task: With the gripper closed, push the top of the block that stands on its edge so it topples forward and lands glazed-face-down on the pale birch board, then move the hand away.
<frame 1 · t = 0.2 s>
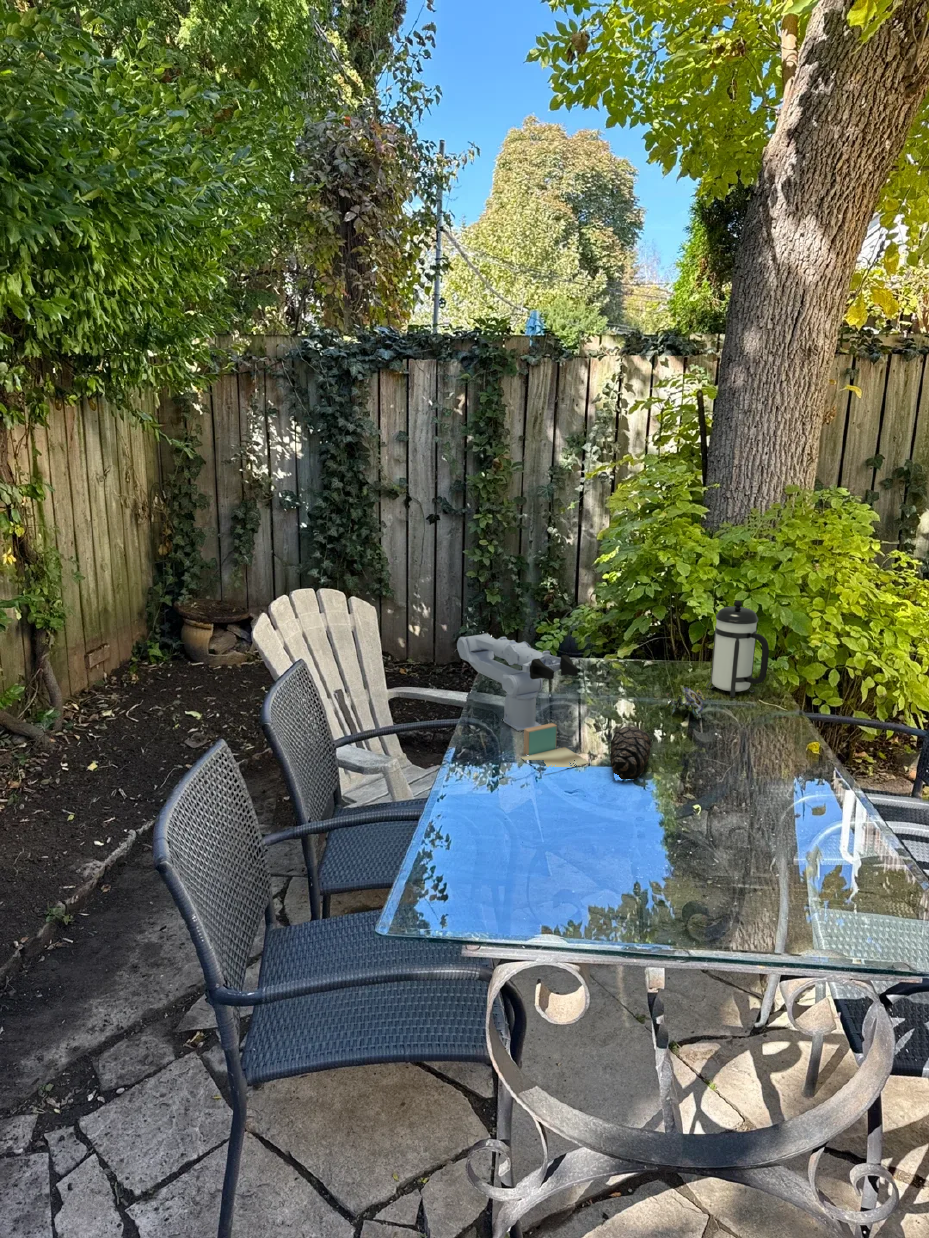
hand: (564, 673, 207), 21 cm above the table, tool horizontal, fingers open, 7 cm apart
coffee press: (734, 691, 257), on the table
block: (539, 751, 211), on the table
passion flower: (684, 717, 236), on the table
pine cone: (629, 770, 200), on the table
board: (554, 761, 205), on the table
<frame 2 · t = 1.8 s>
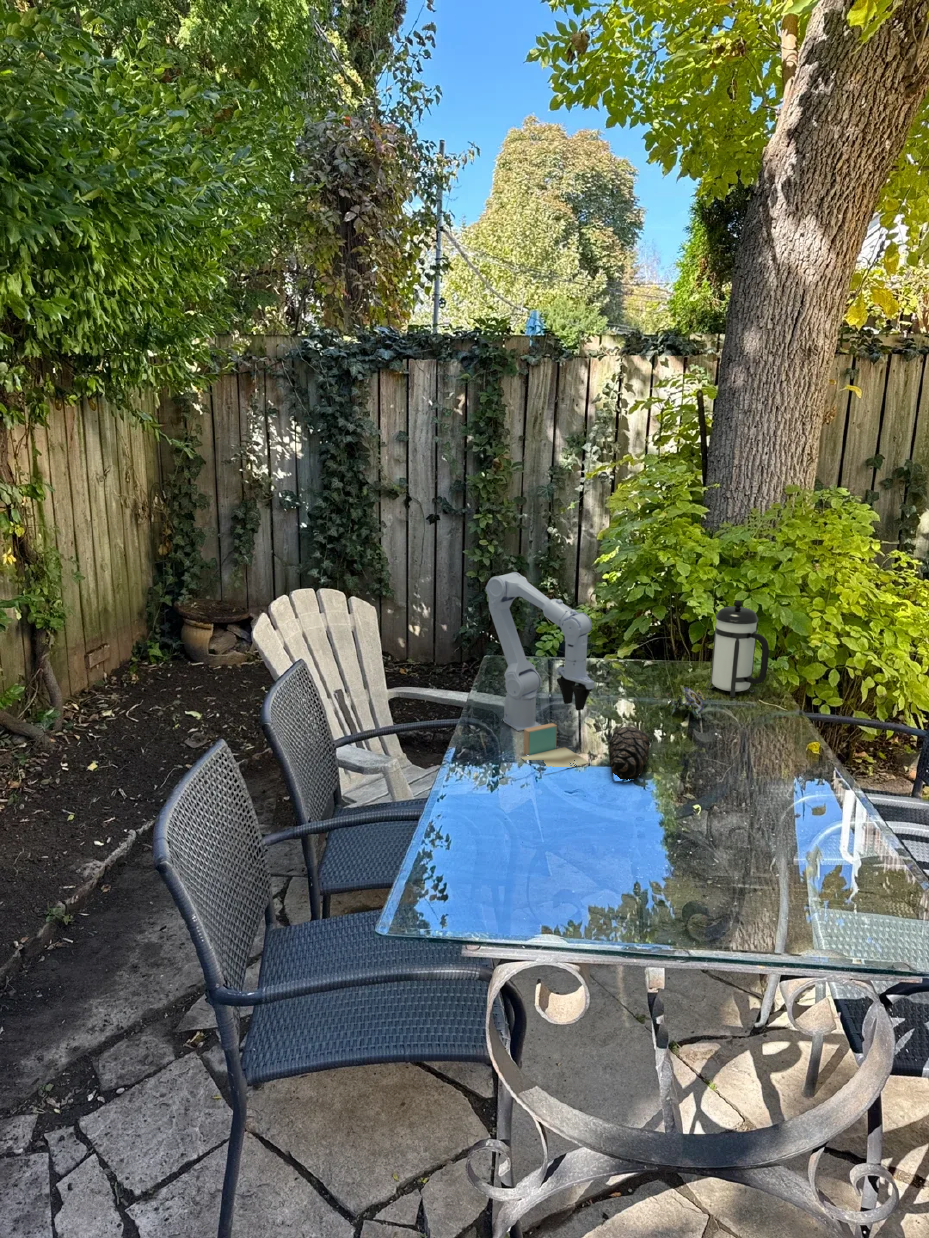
hand: (573, 706, 215), 10 cm above the table, tool pointing down, fingers open, 5 cm apart
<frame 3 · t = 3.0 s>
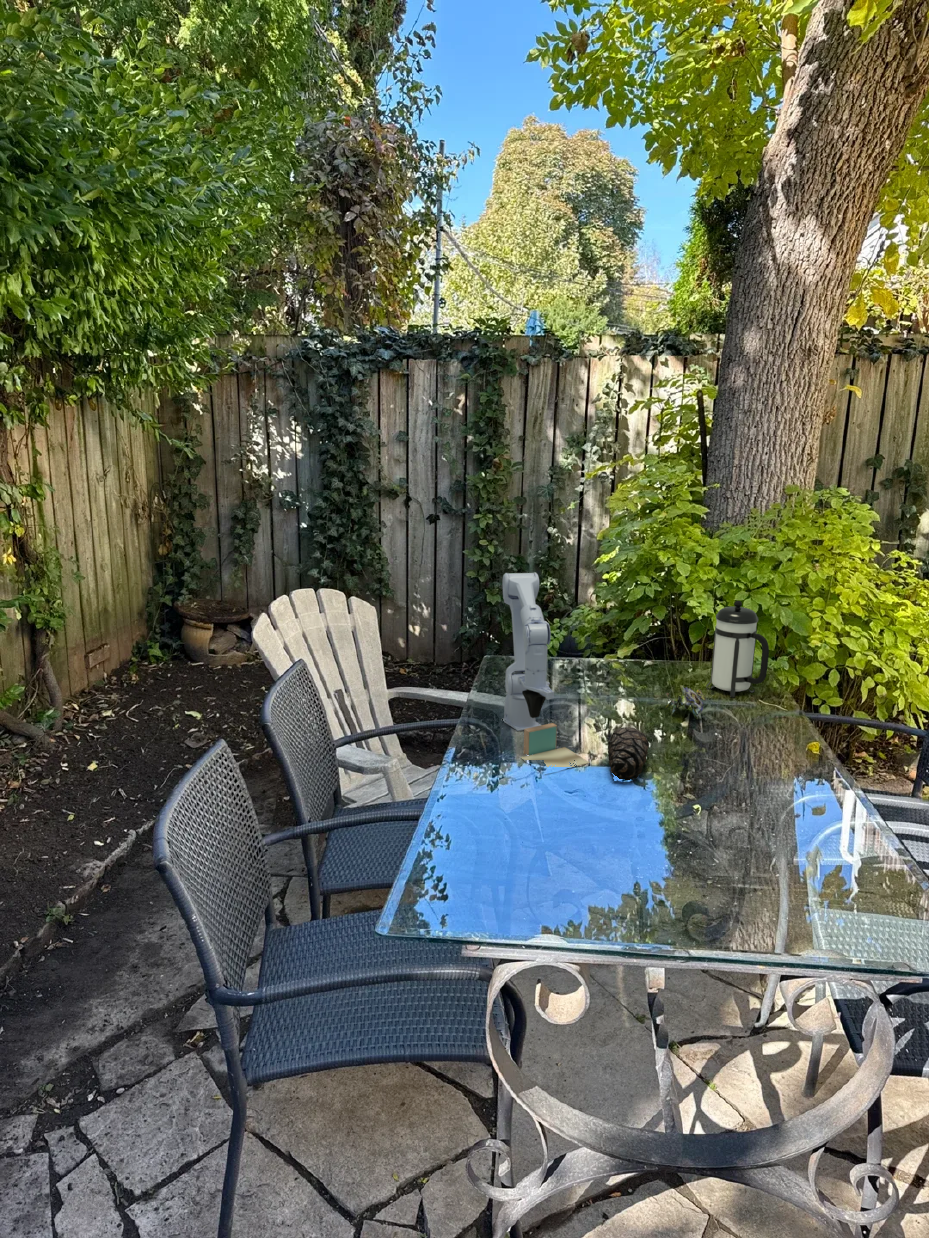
hand: (534, 716, 211), 9 cm above the table, tool pointing down, fingers closed
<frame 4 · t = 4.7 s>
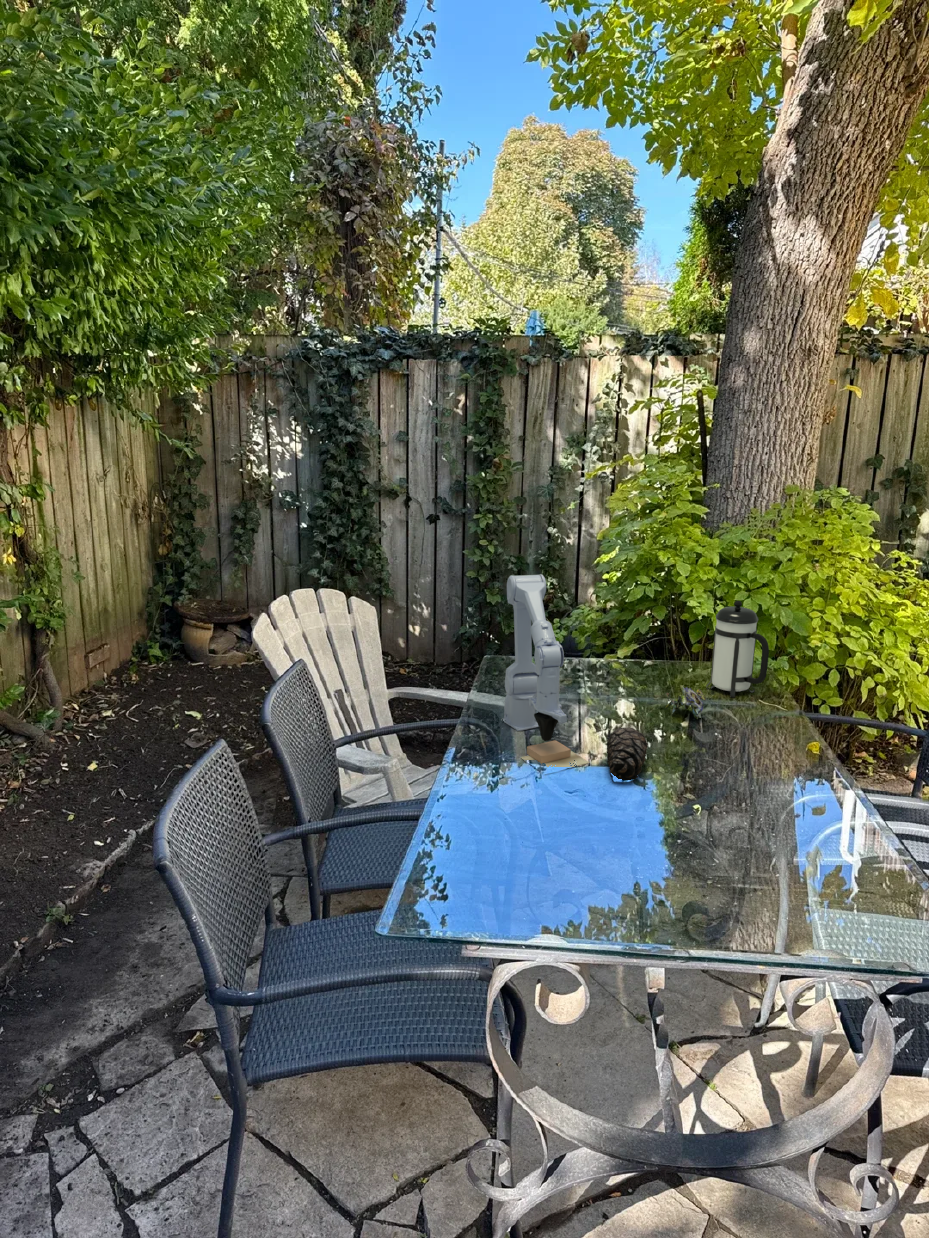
hand: (546, 739, 207), 4 cm above the table, tool pointing down, fingers closed
block: (541, 746, 210), point 2 cm above the table, tilted 90°, touching board
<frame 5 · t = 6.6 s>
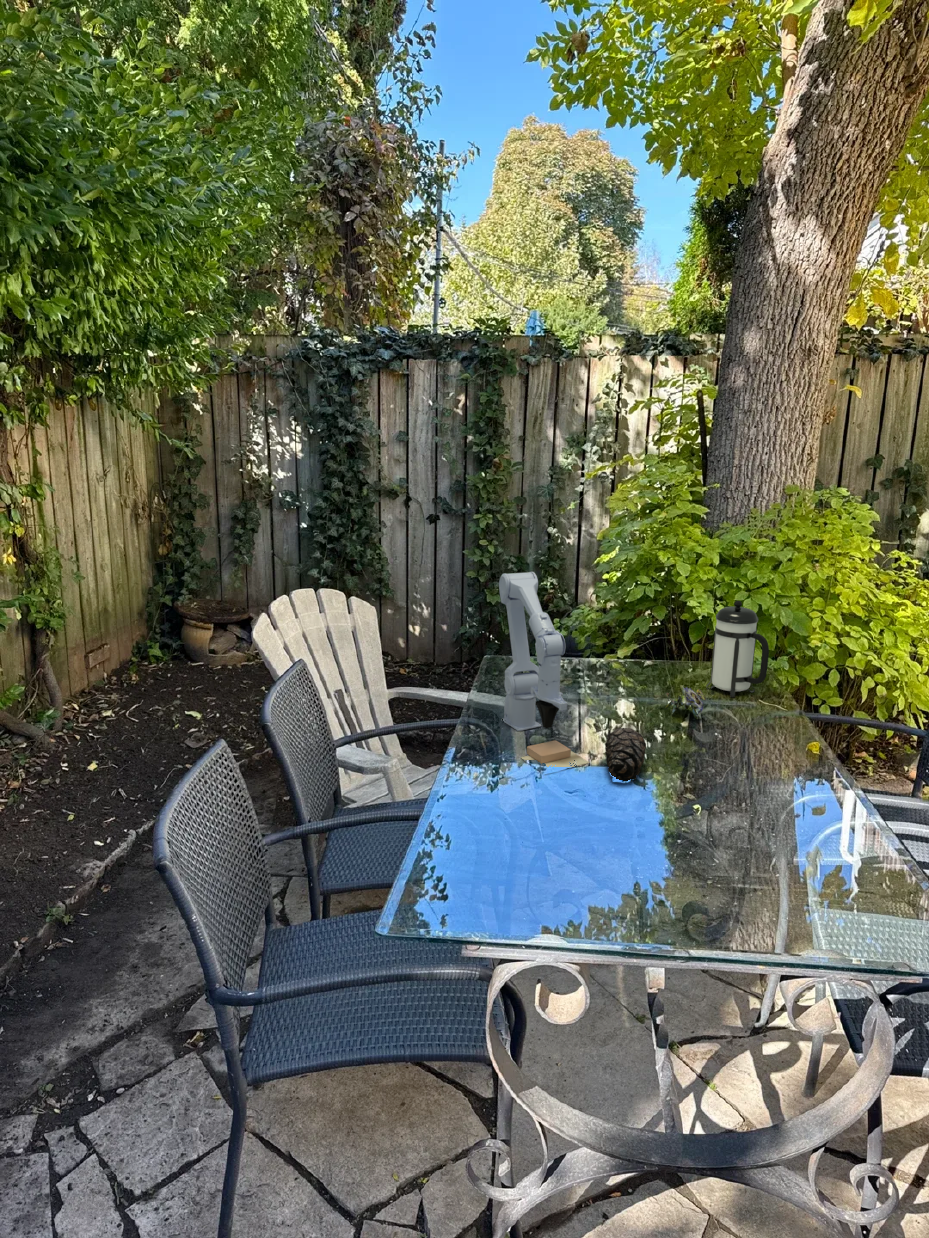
hand: (547, 726, 212), 6 cm above the table, tool pointing down, fingers closed
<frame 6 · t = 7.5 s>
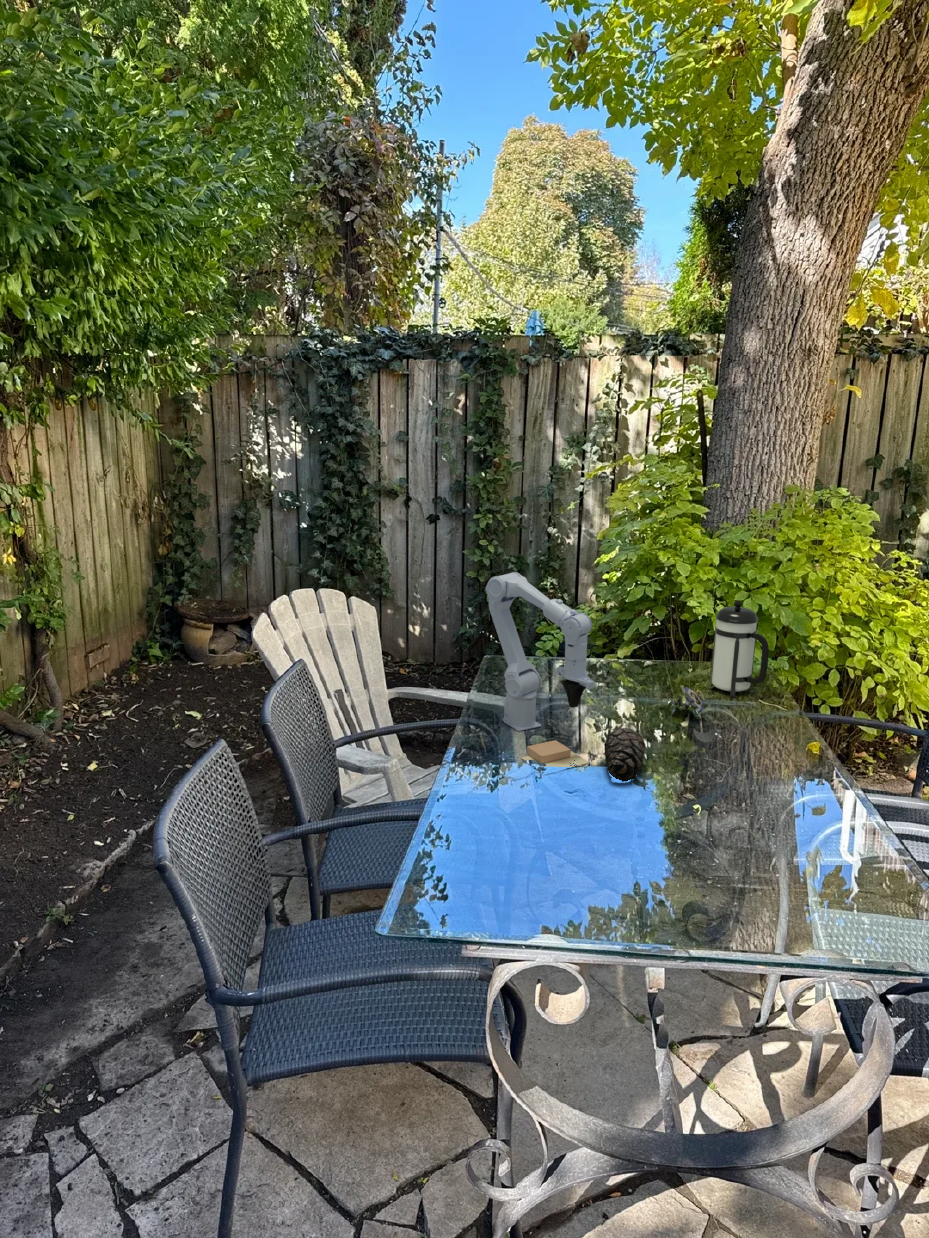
hand: (573, 706, 215), 10 cm above the table, tool pointing down, fingers closed
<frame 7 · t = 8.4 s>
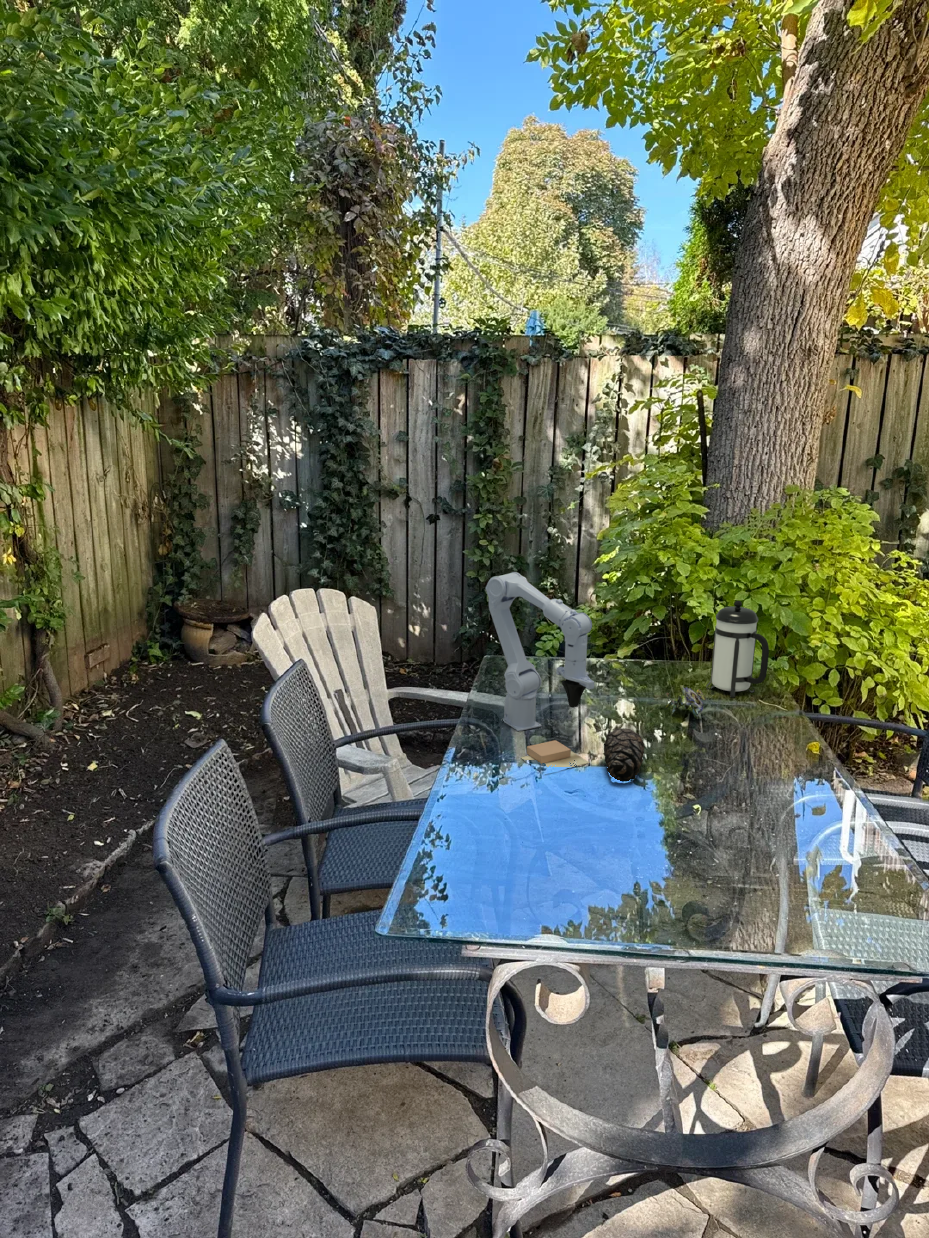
hand: (573, 706, 215), 10 cm above the table, tool pointing down, fingers closed
at the end: block tilted 90°; block inside the target area (5.4 cm from its centre), point 1.5 cm above the table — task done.
